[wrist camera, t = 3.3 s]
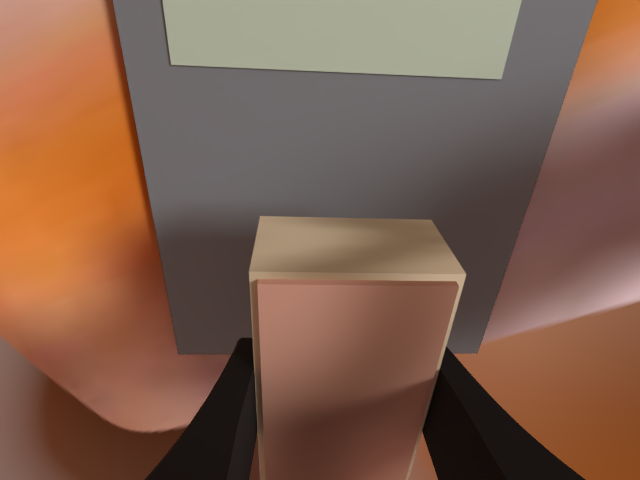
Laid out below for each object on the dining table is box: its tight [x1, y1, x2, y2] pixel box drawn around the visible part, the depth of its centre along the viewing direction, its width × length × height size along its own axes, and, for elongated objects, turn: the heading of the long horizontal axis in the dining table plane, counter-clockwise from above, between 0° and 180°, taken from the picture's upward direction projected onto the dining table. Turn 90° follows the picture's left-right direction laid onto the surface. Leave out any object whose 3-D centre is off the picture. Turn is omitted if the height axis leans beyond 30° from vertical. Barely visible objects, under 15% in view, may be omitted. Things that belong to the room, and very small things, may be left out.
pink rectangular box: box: [249, 216, 466, 480], centre depth 12 cm, size 5×9×3 cm, turn 177°
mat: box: [113, 0, 598, 354], centre depth 14 cm, size 15×22×1 cm
